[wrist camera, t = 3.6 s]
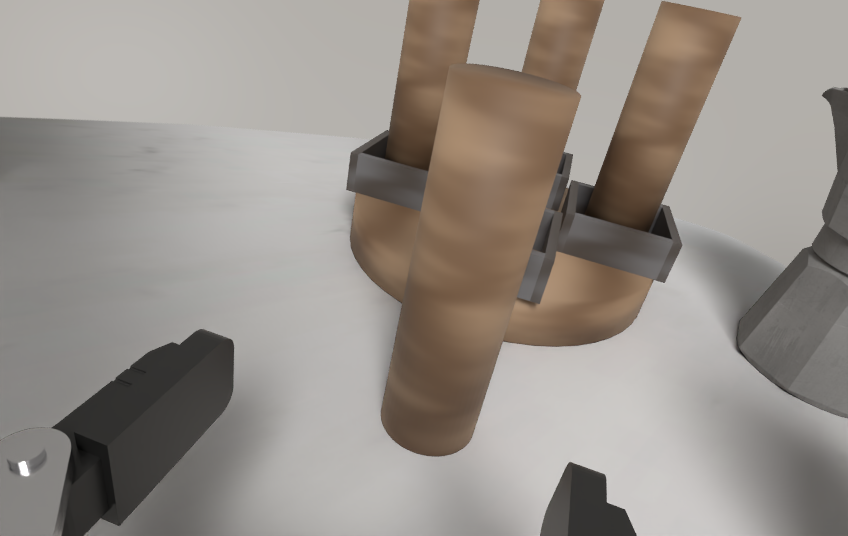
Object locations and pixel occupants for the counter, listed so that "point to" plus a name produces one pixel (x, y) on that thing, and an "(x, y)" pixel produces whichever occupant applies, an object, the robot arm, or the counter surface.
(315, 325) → the counter surface
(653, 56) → the stool seat
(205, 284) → the counter surface
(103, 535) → the counter surface
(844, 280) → the coffeepot
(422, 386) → the loose leg
